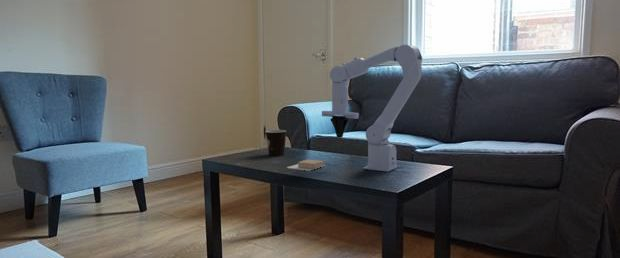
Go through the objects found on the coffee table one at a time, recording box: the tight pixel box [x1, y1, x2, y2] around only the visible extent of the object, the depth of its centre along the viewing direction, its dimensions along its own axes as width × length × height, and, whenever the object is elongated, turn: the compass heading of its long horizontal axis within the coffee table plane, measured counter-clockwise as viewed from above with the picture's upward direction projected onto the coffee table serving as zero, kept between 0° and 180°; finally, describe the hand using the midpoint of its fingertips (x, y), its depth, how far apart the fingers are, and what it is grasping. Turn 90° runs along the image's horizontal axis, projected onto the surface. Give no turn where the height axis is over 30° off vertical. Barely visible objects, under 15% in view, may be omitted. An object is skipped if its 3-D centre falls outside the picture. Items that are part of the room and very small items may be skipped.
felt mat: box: [286, 163, 326, 172], centre depth 164 cm, size 10×10×1 cm
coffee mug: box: [265, 129, 287, 157], centre depth 188 cm, size 12×9×10 cm
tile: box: [297, 158, 325, 170], centre depth 163 cm, size 2×6×7 cm
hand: (339, 137), depth 165 cm, fingers closed
